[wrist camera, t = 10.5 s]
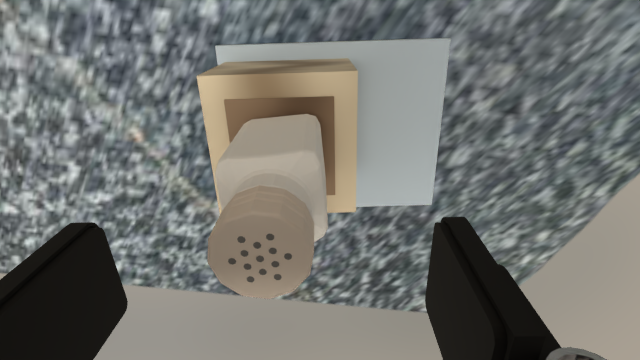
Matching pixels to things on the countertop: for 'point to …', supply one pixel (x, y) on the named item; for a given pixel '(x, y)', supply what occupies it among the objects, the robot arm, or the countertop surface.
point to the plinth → (288, 111)
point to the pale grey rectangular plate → (382, 109)
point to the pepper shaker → (269, 206)
